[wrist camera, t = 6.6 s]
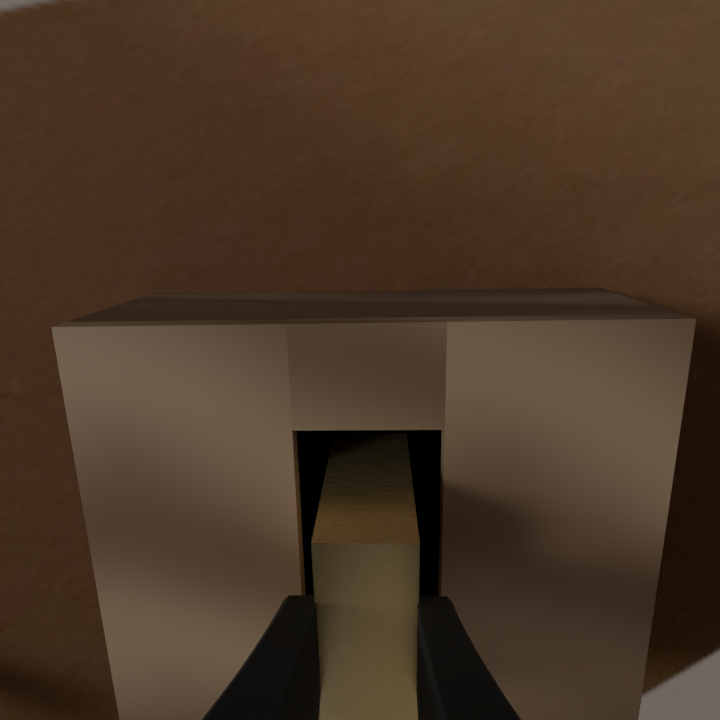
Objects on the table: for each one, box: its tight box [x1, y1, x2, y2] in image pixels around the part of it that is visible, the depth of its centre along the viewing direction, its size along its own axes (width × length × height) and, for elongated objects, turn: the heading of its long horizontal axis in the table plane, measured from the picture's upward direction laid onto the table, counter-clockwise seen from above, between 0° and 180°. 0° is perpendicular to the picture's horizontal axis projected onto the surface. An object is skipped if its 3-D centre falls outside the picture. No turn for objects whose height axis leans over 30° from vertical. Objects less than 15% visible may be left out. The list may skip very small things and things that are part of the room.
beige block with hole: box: [52, 288, 696, 720], centre depth 16 cm, size 12×14×5 cm
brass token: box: [311, 433, 420, 720], centre depth 13 cm, size 5×2×5 cm, turn 1°
